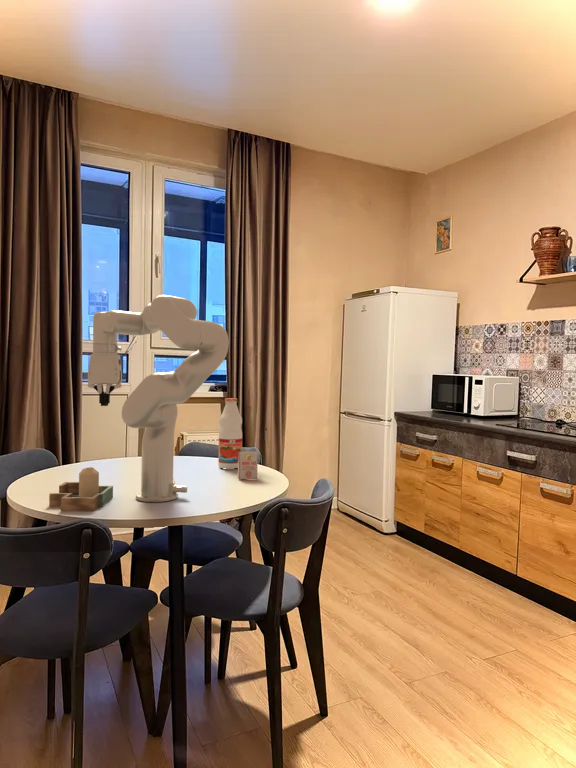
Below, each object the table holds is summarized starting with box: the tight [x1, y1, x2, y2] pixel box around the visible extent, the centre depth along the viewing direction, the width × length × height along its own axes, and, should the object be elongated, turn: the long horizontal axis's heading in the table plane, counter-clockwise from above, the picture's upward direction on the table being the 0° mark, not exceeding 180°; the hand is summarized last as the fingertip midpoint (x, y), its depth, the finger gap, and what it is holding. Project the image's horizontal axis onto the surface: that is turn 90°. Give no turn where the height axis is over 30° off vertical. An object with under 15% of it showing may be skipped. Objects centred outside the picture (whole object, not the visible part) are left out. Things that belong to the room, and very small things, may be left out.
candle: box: [78, 466, 100, 498], centre depth 160 cm, size 6×6×10 cm
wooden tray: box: [48, 481, 114, 512], centre depth 160 cm, size 16×21×4 cm
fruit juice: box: [217, 397, 243, 470], centre depth 218 cm, size 9×9×28 cm
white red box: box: [237, 451, 258, 480], centre depth 197 cm, size 4×7×10 cm, turn 100°
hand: (104, 405), depth 179 cm, fingers closed
